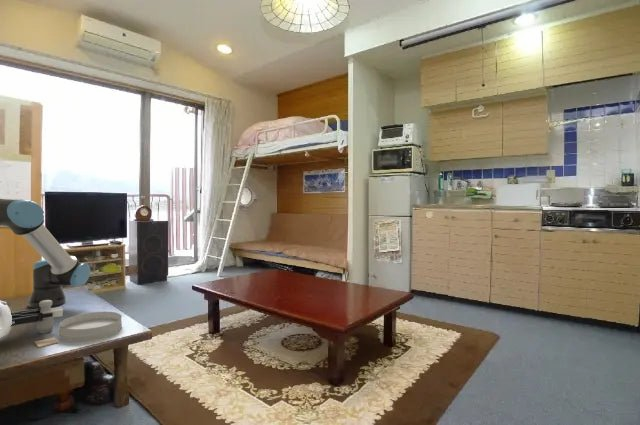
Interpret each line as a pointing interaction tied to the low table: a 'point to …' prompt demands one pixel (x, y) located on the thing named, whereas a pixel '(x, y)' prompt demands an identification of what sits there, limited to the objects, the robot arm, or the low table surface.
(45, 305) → the salt shaker
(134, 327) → the low table surface
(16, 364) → the low table surface
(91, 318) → the dish
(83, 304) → the low table surface
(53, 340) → the cork coaster
